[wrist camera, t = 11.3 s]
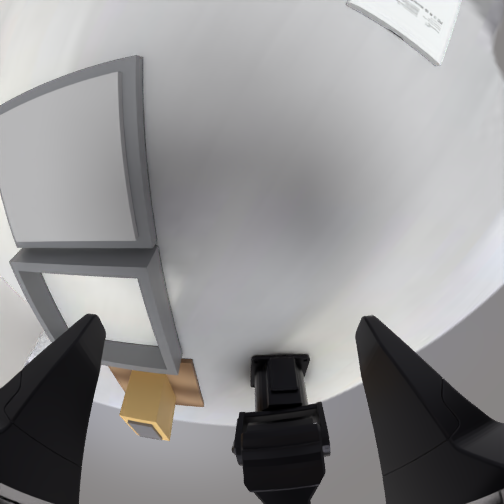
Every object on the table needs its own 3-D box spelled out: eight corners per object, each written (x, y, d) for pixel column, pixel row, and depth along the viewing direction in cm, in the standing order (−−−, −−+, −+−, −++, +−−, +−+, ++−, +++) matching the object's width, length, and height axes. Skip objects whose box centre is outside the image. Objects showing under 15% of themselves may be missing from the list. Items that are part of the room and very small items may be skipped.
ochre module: (176, 397, 33) (169, 443, 27) (146, 394, 33) (137, 437, 27) (165, 372, 30) (155, 425, 23) (132, 368, 29) (118, 418, 23)
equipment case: (182, 353, 28) (178, 375, 26) (68, 338, 28) (60, 355, 25) (142, 57, 13) (124, 51, 11) (-3, 109, 13) (-25, 116, 10)
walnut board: (204, 403, 35) (203, 407, 35) (129, 394, 35) (129, 397, 34) (192, 359, 29) (191, 363, 28) (101, 348, 29) (99, 352, 28)
